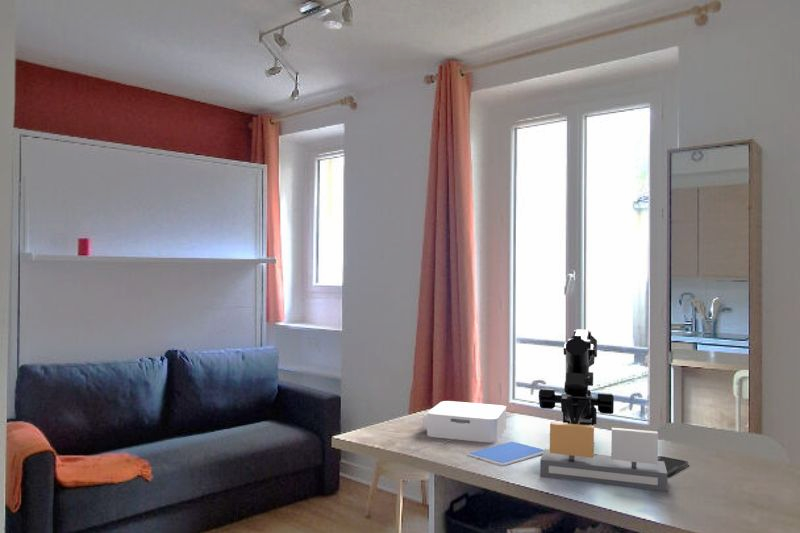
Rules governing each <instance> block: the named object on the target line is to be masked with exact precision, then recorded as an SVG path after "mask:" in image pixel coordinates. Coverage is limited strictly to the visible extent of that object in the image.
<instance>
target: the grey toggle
mask: <svg viewBox="0 0 800 533" xmlns="http://www.w3.org/2000/svg"><path fill="white" fill-rule="evenodd" d="M658 445H659V433H658V431H656V430H655V431H654V430H645V429H644V430H642V429H632V428H621V427H611V447H610V448H611V454H610V456H611V460H620V461H630V462H632V466H636V462H639V463H649V464H658V456H659V452H658V450H659V447H658Z"/></svg>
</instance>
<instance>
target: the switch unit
mask: <svg viewBox="0 0 800 533" xmlns="http://www.w3.org/2000/svg"><path fill="white" fill-rule="evenodd" d="M543 450H544V452H543V454H542V455H541V457H540V460H539V462H540V463H539V464H540V465H539V466H540V467H539V472H540V473H539V477H541V478H550V479H557V480H559V479H560V480H565V481H567V480H568V481H576V482H584V483H593V484H599V485H600V484H602V485H609V486H618V487H627V488H635V489H643V490H644V489H645V490H653V491H661V492H668V477H667V470H666V466H665V463H664V461H658V464H649V463H639V462H636V466H632V462H630V461H620V460H611V455H607V454H605V455H604V454H596V453H594V456H593V458H591V457H581V456H574V459H573V460H570V459H569V455H562V454H553V453H550V448H549V449H547V448H544V449H543Z"/></svg>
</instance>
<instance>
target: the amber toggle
mask: <svg viewBox="0 0 800 533" xmlns="http://www.w3.org/2000/svg"><path fill="white" fill-rule="evenodd" d="M594 441H595V425H590V426H589V425H578V424H568V423H563V422H555V421H550V424H549V450H550V453H553V454H562V455H569V459H570V460H573V459H574V456H581V457H591V458H593V456H594V454H595V453H594V450H595V449H594V448H595V447H594V446H595V442H594Z"/></svg>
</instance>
